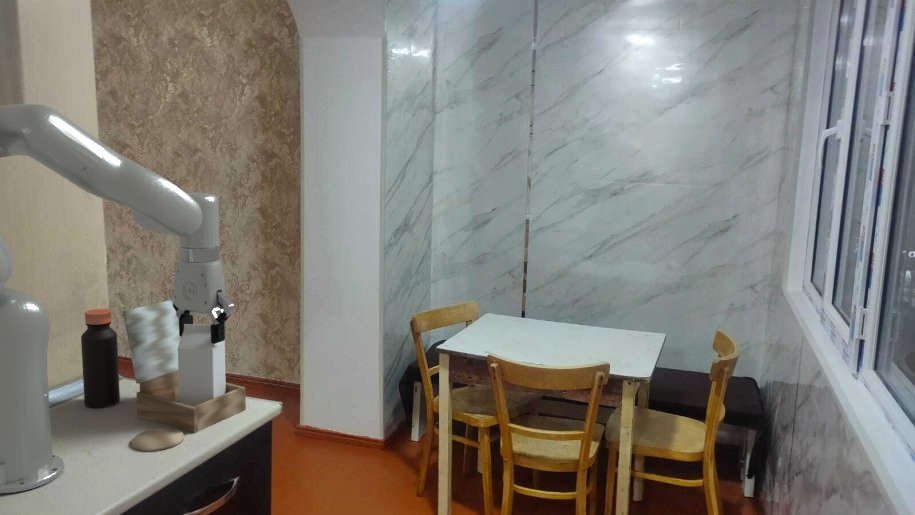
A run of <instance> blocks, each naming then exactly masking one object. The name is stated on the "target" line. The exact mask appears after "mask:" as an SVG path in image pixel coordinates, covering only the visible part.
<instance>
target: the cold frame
mask: <svg viewBox="0 0 915 515" xmlns="http://www.w3.org/2000/svg"><path fill="white" fill-rule="evenodd" d="M176 313H177V312H176V311H175V309H174V308H173V304H172V302H171V299H169V300H165V301H161V302H157V303H153V304H149V305H144V306H140V307H135V308H131V309H127V310H123V311H122V314H123V319H124V324H125V331H126V335H127V340H128V345H129V351H130V352H129V353H130V358H131V362H132V368H133V374H134V379H135V384H137V385H138V384H139V391H137V392H136V412H137V413H136V416H137V417H139V418H142V419H146V420H149V421H153V422H156V423H159V424H163V425H167V426H170V427H172V428H175V429H178V430H179V429H180V430H182V431H186V432H189V433H193V434H195V433H197V432H200V431H202V430H204V429H206V428H209V427H211V426H213V425H216V424H217V423H220V422H222V421H224V420H227V419H228V418H230V417H233V416H235V415H237V414H239V413H241V412H244V411H246V409H247V407H246V406H247V404H246V402H247V401H246V400H247V399H246V398H247V397H246V394H247V393H246V391H247V390H246V387H245V386H242V385H238V384H234V383H230V382H226V394H223V395H221V396H218V397H216V398H214V399H211V400H209V401H206V402H204V403H202V404H199V405H197V406H190V405H186V404H183V403H179V402H178V401H179V375H178V346H179V343H180V340H181V336H179V317H177V316H176ZM165 387H168V388H173V389H175V401H172V400H169V399H165V398H161V397H158V396H154V395H152V391H153V390H155V389H158V388H165Z"/></svg>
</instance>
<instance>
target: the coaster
mask: <svg viewBox="0 0 915 515" xmlns="http://www.w3.org/2000/svg"><path fill="white" fill-rule="evenodd" d="M184 435H185V434H184V432H182V431H181V429H180V430H179V429H178V428H173V427H171V428H170V427H164V428H163V427H162V428H161V427H160V428H152V429H148V430H145V431H143V432H140V433H138V434H136V435H134V437H133V438H132V439H131V447H133V449H135V450H138V451H140V452H141V451H142V452H159V451H165V450H168V449H172V448H174V447H177V446H178V445H180V444H181V443H183V441H184Z"/></svg>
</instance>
